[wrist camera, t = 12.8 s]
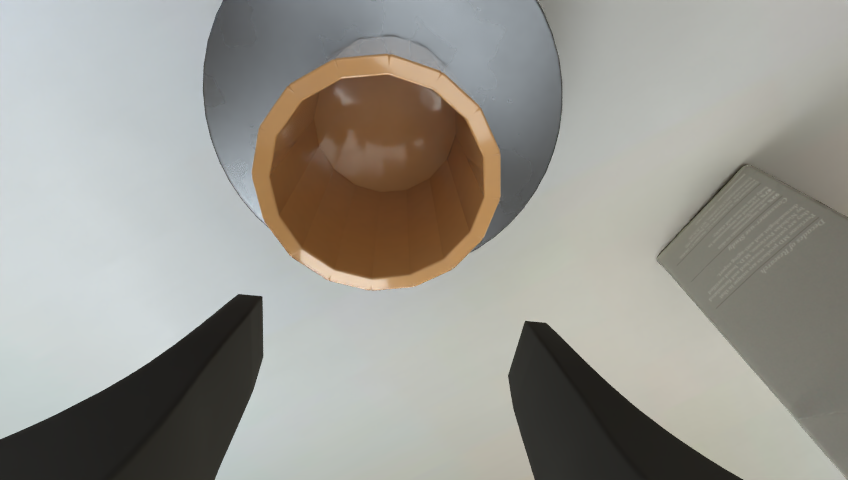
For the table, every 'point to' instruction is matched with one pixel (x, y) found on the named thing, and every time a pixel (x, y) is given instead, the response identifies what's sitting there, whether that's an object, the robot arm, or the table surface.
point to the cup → (377, 167)
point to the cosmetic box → (776, 294)
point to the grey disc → (406, 19)
